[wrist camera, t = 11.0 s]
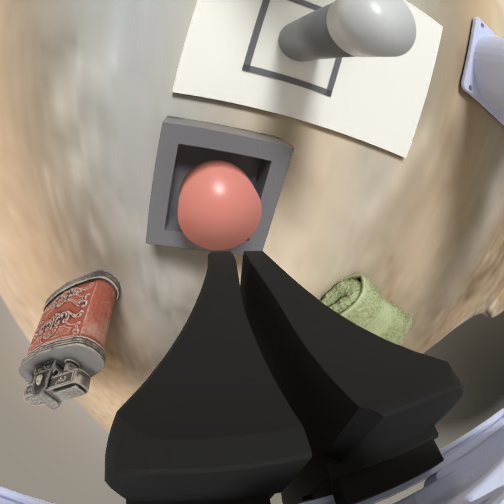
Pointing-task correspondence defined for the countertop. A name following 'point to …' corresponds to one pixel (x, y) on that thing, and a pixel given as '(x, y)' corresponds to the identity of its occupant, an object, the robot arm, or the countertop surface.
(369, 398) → the robot arm
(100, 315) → the lighter
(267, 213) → the button housing
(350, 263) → the countertop surface
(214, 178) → the button
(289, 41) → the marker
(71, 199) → the countertop surface
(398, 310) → the washcloth
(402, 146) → the paper sheet
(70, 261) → the countertop surface
